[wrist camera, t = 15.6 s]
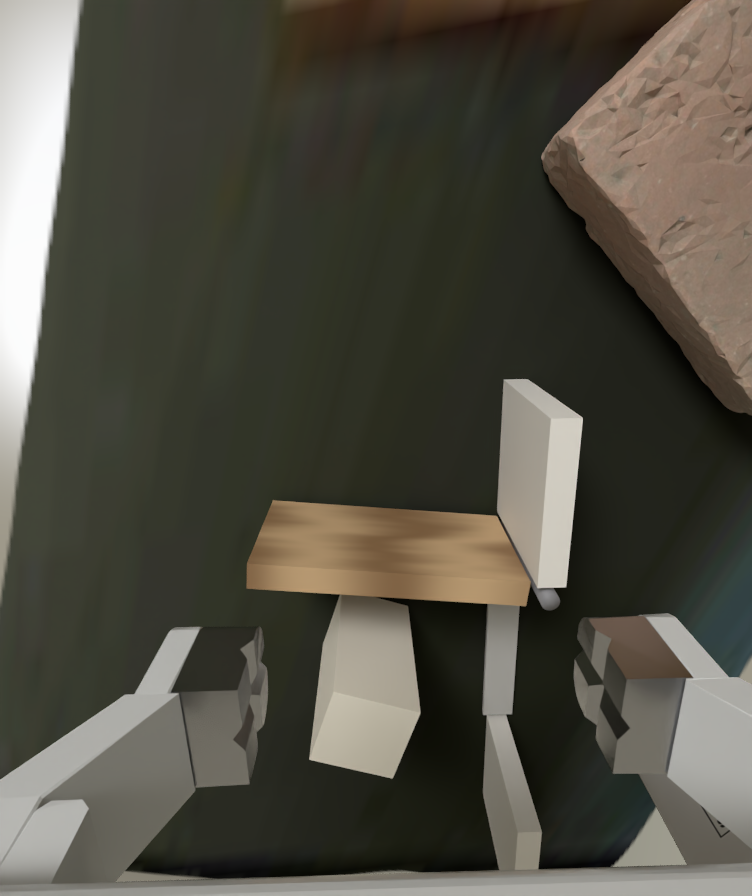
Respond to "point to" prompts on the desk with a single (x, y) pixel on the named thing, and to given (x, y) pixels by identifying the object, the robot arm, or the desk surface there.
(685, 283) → the brick
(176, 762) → the robot arm
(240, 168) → the desk surface
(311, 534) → the door
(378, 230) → the desk surface
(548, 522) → the doorframe
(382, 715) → the block
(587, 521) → the desk surface
